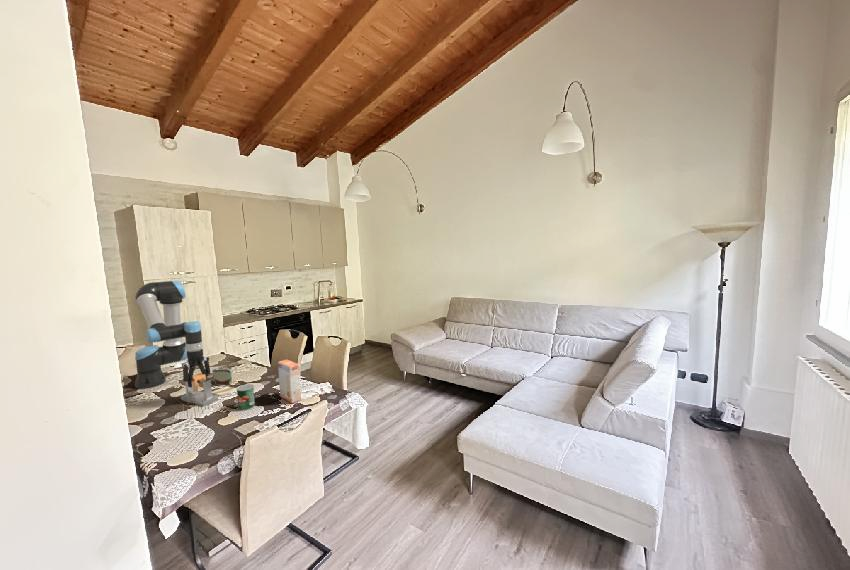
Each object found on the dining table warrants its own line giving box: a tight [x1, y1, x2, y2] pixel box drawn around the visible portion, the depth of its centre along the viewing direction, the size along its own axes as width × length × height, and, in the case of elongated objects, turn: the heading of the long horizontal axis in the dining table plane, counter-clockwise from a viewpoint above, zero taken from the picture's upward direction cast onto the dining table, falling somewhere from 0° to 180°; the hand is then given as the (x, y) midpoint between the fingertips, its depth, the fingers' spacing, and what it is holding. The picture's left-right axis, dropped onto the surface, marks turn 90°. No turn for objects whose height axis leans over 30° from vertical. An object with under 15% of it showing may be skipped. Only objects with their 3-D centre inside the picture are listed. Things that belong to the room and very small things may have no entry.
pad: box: [212, 385, 237, 397], centre depth 204 cm, size 10×10×1 cm
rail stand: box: [180, 379, 219, 407], centre depth 192 cm, size 20×8×12 cm, turn 65°
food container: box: [211, 365, 234, 386], centre depth 216 cm, size 12×6×10 cm, turn 84°
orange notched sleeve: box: [192, 373, 206, 392], centre depth 192 cm, size 5×6×8 cm
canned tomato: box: [236, 384, 256, 412], centre depth 183 cm, size 8×8×11 cm
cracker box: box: [277, 359, 302, 404], centre depth 192 cm, size 14×6×21 cm, turn 48°
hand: (198, 389), depth 192 cm, fingers closed on orange notched sleeve, 6 cm apart
